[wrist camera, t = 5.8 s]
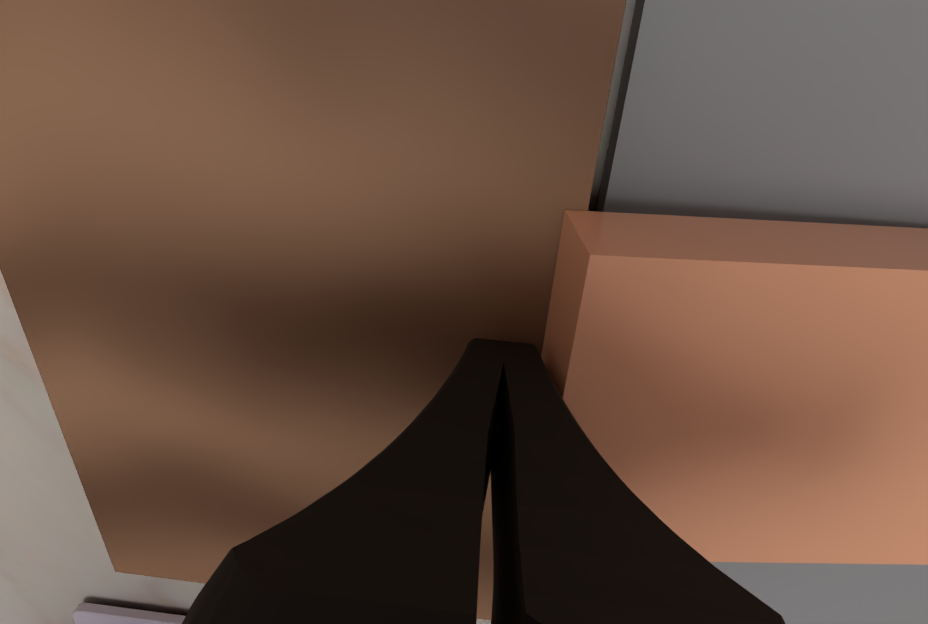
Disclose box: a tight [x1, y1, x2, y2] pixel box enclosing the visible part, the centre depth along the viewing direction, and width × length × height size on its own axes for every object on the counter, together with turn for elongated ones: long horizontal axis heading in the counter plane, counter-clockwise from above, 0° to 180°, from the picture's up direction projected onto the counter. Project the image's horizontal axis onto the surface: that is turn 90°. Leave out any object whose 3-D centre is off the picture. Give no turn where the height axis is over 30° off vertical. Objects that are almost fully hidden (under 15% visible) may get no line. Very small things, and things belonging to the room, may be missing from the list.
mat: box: [596, 0, 928, 624], centre depth 13 cm, size 22×14×1 cm, turn 176°
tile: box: [541, 210, 928, 565], centre depth 11 cm, size 7×10×2 cm
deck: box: [0, 0, 626, 620], centre depth 13 cm, size 18×12×2 cm, turn 176°
